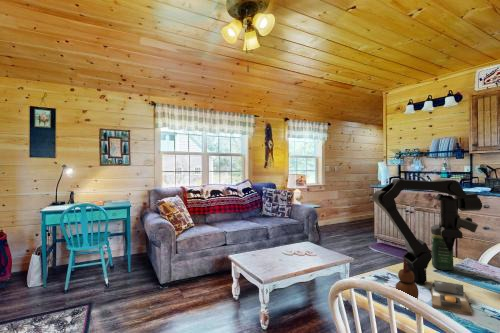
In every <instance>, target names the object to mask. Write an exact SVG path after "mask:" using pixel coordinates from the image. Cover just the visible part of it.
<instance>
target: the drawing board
mask: <svg viewBox="0 0 500 333" xmlns="http://www.w3.org/2000/svg"><path fill="white" fill-rule="evenodd" d="M430 294H431V307H432V308H434V309H435V308H436V309H439V310H445V311H449V312H454V313H458V314H464V315H467V316H472V315H473V314H472V309H471V307H470V303H469V300H468V298H467V294H466V292H465V291H464V296H463V295H458V294H452V293H447V292H441V291H436V290H435V287H431V286H430ZM445 296H452V297H455V298H456V303H454V302H448V301H445Z"/></svg>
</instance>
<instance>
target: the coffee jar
mask: <svg viewBox="0 0 500 333" xmlns="http://www.w3.org/2000/svg"><path fill="white" fill-rule="evenodd" d="M441 229H442V227H441V228H439V224H433V225H432V226H431V228H430V236H431V238H430V240H431V242H430V243H431V244H430V245H431V247H430V248H431V251H432V252H431V254H432V258H431V265H432V267H433V268H435V269H439V270H442V271H452V270H454V249H453V250H452V251H449V250H448V248H447V246H446V244H445V242H444V239H443V237H442V236H441V232H440V231H441Z"/></svg>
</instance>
